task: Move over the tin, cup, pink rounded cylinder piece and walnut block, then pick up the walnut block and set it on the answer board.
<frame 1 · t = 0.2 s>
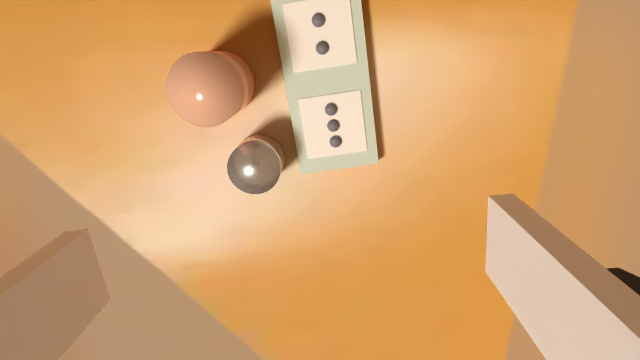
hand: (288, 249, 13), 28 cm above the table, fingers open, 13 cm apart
cup b: (224, 83, 39), on the table
answer board: (320, 34, 37), on the table
tin: (260, 158, 41), on the table
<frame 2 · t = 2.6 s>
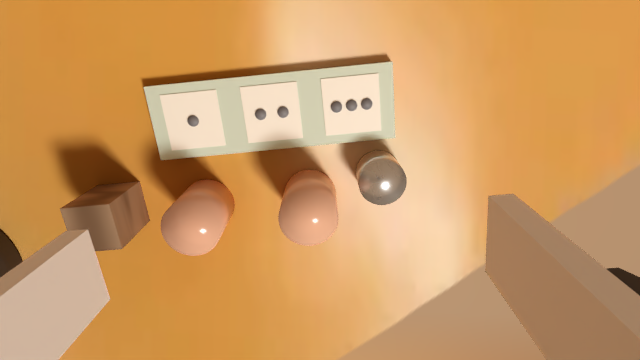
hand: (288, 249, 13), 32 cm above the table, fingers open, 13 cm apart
cup b: (310, 194, 46), on the table
answer board: (273, 111, 43), on the table
pink rounded cylinder piece: (209, 203, 47), on the table
walnut block: (124, 203, 47), on the table
tin: (377, 171, 45), on the table
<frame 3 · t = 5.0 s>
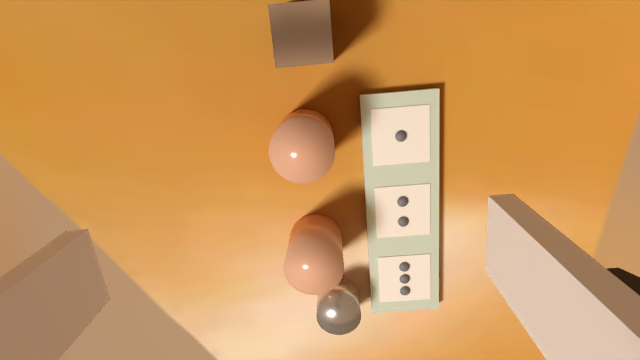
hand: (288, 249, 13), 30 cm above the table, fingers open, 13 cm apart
cup b: (315, 237, 46), on the table
answer board: (401, 207, 45), on the table
pink rounded cylinder piece: (305, 137, 42), on the table
walnut block: (305, 38, 39), on the table
tin: (337, 295, 48), on the table
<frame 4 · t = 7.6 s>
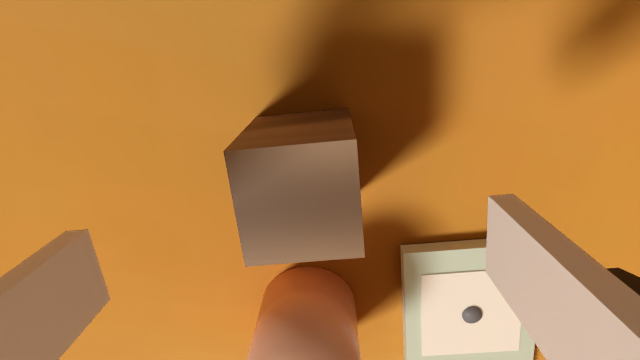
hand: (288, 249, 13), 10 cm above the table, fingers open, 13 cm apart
pink rounded cylinder piece: (308, 306, 25), on the table
walnut block: (307, 156, 22), on the table
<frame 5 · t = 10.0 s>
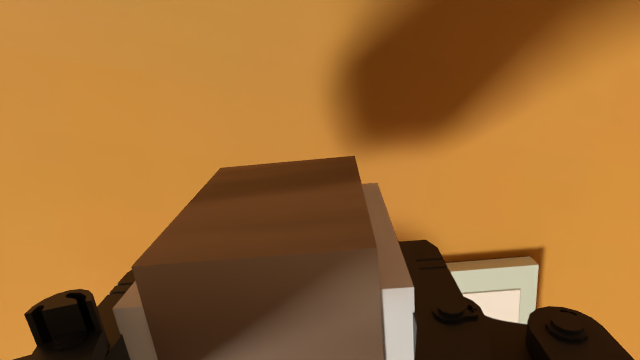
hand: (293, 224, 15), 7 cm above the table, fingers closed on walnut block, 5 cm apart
walnut block: (294, 223, 15), point 7 cm above the table, touching gripper
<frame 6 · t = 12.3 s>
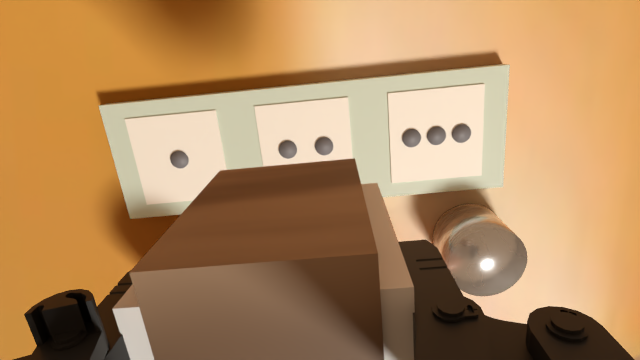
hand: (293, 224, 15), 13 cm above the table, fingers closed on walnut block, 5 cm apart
answer board: (306, 143, 27), on the table
walnut block: (294, 226, 15), point 12 cm above the table, touching gripper
tin: (466, 234, 29), on the table
when the fingers open (1 cm above the table, at t = 14.5 s): walnut block stays where it is, resting on answer board.
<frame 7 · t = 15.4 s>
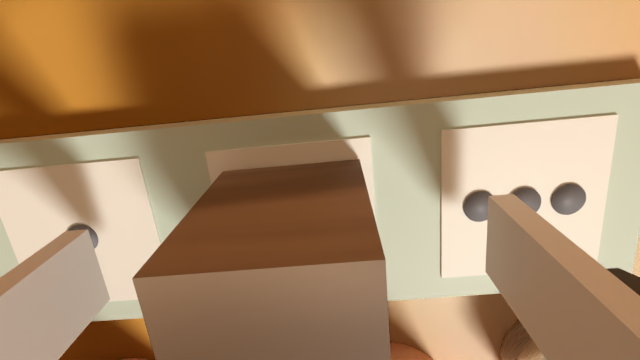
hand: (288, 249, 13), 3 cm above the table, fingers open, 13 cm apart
answer board: (298, 209, 16), on the table
walnut block: (298, 227, 15), point 1 cm above the table, touching answer board
tin: (554, 348, 18), on the table
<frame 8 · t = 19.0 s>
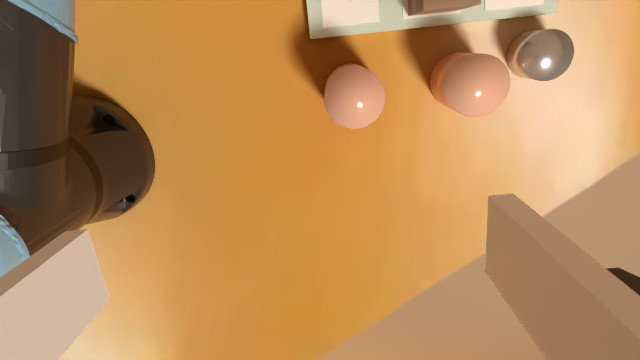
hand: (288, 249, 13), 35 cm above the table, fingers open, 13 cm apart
cup b: (456, 80, 45), on the table
pink rounded cylinder piece: (350, 90, 45), on the table
tin: (529, 54, 44), on the table
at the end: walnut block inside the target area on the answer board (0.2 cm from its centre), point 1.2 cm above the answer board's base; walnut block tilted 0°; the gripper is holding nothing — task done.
